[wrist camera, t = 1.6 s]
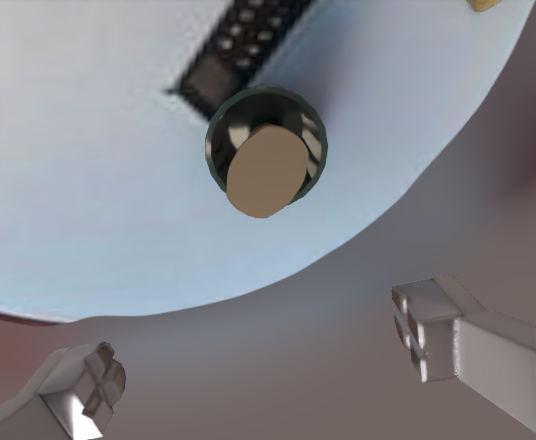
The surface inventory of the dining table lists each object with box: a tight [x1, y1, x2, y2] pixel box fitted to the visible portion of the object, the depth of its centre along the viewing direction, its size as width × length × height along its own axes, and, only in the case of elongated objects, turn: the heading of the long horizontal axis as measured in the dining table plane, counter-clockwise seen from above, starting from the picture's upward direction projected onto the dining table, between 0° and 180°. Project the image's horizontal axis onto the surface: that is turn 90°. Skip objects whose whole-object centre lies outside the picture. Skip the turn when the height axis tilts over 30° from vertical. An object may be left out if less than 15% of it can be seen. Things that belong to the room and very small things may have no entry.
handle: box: [226, 122, 309, 218], centre depth 29 cm, size 5×6×15 cm
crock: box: [205, 84, 328, 206], centre depth 33 cm, size 11×11×8 cm
